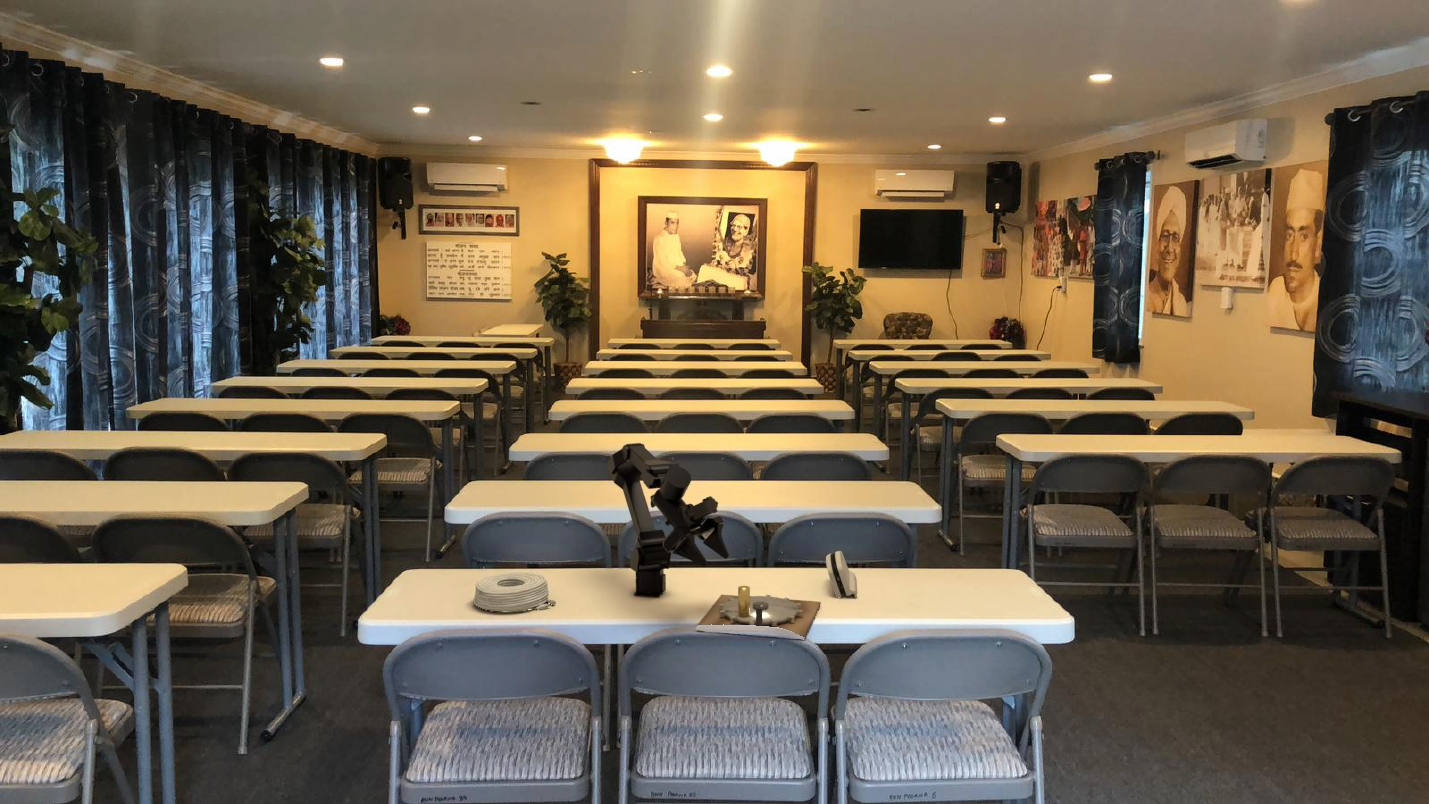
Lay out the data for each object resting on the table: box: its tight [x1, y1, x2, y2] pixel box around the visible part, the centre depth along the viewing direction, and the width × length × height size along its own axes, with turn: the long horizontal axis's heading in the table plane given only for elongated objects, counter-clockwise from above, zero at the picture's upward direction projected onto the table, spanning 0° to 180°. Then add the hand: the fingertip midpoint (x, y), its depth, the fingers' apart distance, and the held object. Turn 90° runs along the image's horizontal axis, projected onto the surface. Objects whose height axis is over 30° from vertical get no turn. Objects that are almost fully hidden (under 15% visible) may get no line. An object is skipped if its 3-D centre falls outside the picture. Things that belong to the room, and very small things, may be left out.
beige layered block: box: [825, 550, 858, 599], centre depth 264 cm, size 17×5×10 cm, turn 174°
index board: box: [697, 594, 822, 639], centre depth 242 cm, size 24×24×6 cm
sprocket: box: [719, 585, 803, 626], centre depth 241 cm, size 19×19×8 cm
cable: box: [473, 571, 557, 612], centre depth 253 cm, size 18×18×6 cm
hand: (717, 561), depth 240 cm, fingers open, 9 cm apart
